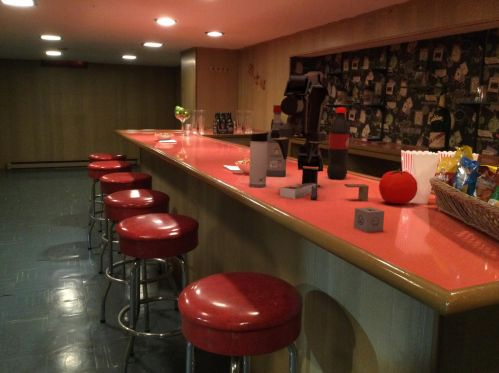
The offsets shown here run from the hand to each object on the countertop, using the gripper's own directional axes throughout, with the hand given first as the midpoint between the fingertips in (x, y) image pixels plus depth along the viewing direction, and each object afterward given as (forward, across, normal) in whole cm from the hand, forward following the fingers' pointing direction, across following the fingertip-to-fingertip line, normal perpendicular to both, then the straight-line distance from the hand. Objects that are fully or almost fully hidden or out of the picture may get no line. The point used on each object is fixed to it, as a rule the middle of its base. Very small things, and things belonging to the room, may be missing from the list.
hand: (296, 161), depth 156 cm
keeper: (+11, +20, +6) cm, 23 cm away
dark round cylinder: (+11, +10, -4) cm, 16 cm away
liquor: (+13, -30, +31) cm, 45 cm away
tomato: (+12, +32, +10) cm, 35 cm away
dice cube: (+11, +38, -27) cm, 48 cm away
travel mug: (+12, -18, +3) cm, 22 cm away
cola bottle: (+13, -7, +44) cm, 47 cm away
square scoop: (+11, +2, 0) cm, 12 cm away
